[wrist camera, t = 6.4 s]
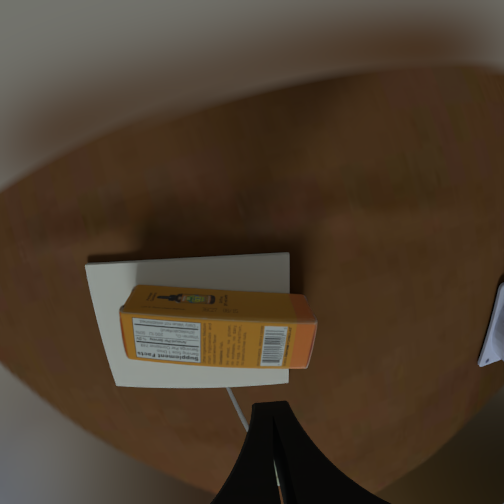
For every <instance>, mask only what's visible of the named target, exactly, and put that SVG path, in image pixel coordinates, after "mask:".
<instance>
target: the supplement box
mask: <svg viewBox="0 0 504 504" xmlns="http://www.w3.org/2000/svg"><path fill="white" fill-rule="evenodd" d="M119 322H120V329H121V337H122V343H123V347H124V351H125V354H126V357H127V358H128V359H132V360H141V361H150V362H160V363H170V364H181V365H194V366H208V367H224V368H257V369H305V368H307V367H308V365H309V361H310V358H311V354H312V349H313V345H314V340H315V335H316V329H317V319H316V317H315V315H314V313H313V312H312V310H311V308H310V306H309V304H308V300H307V298H306V296H304V295H302V294H287V293H268V292H248V291H231V290H215V289H198V288H183V287H168V286H155V285H136V286H134V287H133V289H132V291H131V294H130V296H129V297H128V299H127V300H126V302H125V304H124V305H122V306H121V307H120V309H119Z"/></svg>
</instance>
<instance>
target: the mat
mask: <svg viewBox="0 0 504 504" xmlns="http://www.w3.org/2000/svg"><path fill="white" fill-rule="evenodd" d="M85 268H86V274H87V279H88V283H89V288H90V293H91V297H92V302H93V306H94V310H95V314H96V318H97V322H98V326H99V330H100V334H101V337H102V341H103V344H104V348H105V351H106V355H107V358H108V361H109V364H110V368H111V371H112V374H113V377H114V380H115V383H116V386H128V387H152V388H215V387H239V386H255V385H269V384H281V383H288V376H289V369H257V368H224V367H208V366H194V365H181V364H170V363H160V362H150V361H141V360H132V359H128V358H127V357H126V354H125V351H124V347H123V343H122V337H121V329H120V322H119V309H120V307H121V306H122V305H124V304H125V302H126V300H127V299H128V297H129V296H130V294H131V291H132V289H133V287H134V286H136V285H155V286H168V287H183V288H198V289H215V290H231V291H248V292H268V293H287V294H290V254H289V252H282V253H264V254H246V255H228V256H210V257H192V258H173V259H155V260H136V261H117V262H99V263H87V264H86V265H85Z"/></svg>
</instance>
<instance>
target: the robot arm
mask: <svg viewBox="0 0 504 504" xmlns="http://www.w3.org/2000/svg"><path fill="white" fill-rule="evenodd" d="M501 359H502V360H503V361H504V282H503V283H501V284H500V286H499V288H498V292H497V297H496V301H495V305H494V309H493V313H492V317H491V321H490V325H489V328H488V332H487V335H486V338H485V342H484V345H483V348H482V351H481V354H480V357H479V360H478V365H479V366H480V367H482V366H485V365H487V364H490V363H493V362H495V361H498V360H501ZM274 463H275V465H274ZM275 467H276V471H275ZM276 472H277V476H278V480H279V484H280V488H281V492H282V497H283V502H284V504H391V503H389V502H387V501H384V500H383V499H381V498H379V497H377V496H375V495H374V494H372V493H370V492H369V491H367V490H366V489H364V488H362V487H361V486H360V485H358V484H357V483H355V482H354V481H353V480H351V479H350V478H349V477H347V476H346V475H345V474H344V473H343V472H341V471H340V470H339V469H338V468H337V467H336V466H335V465H334V464H333V463H332V462H330V461H329V460H328V459H327V457H326V456H325V455H324V454H323V453H322V452H321V451H320V450H319V449H318V447H317V446H316V445H315V444H314V443H313V441H312V440H311V439H310V438H309V436H308V435H307V433H306V432H305V431H304V429H303V428H302V426H301V425H300V423H299V422H298V420H297V418H296V417H295V415H294V413H293V411H292V410H291V408H290V405H289V403H288V402H287V401H276V402H263V403H254V404H253V405H252V414H251V420H250V425H249V429H248V432H247V435H246V438H245V442H244V444H243V447H242V449H241V452H240V454H239V457H238V459H237V461H236V463H235V465H234V467H233V469H232V471H231V473H230V475H229V477H228V478H227V480H226V482H225V483H224V485H223V486H222V488H221V490H220V491H219V493H218V494H217V495H216V497H215V498H214V499H213V501H212V502H211V503H210V504H281V500H280V495H279V489H278V483H277V478H276ZM503 504H504V503H503Z"/></svg>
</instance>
